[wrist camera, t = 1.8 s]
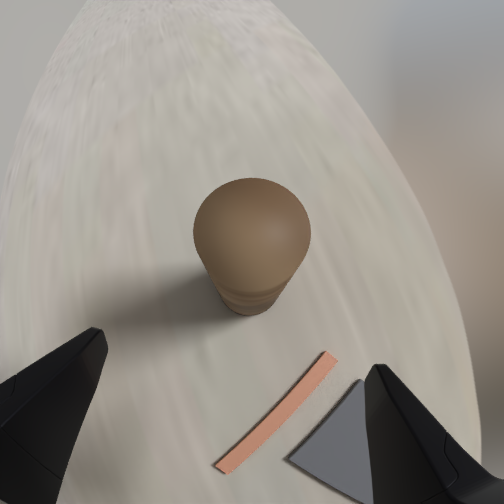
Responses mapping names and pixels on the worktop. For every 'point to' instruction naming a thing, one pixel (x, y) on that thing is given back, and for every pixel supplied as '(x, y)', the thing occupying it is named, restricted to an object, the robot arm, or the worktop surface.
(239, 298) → the pin
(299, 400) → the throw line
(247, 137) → the worktop surface
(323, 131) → the worktop surface
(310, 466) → the mat
